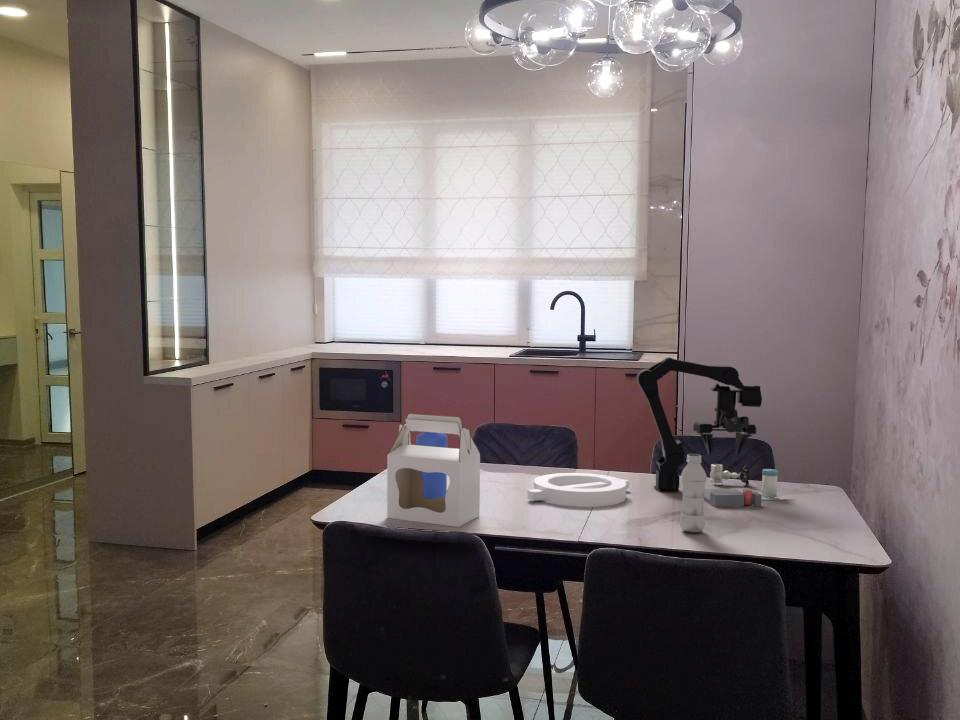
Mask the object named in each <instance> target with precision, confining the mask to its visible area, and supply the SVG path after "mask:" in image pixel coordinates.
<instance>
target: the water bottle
mask: <svg viewBox="0 0 960 720" xmlns="http://www.w3.org/2000/svg"><path fill="white" fill-rule="evenodd" d="M415 445H425V446H437V447H448V435H446V434H445V433H435V432H421V433H420V434H417V435H416V436H415ZM420 473H421V476H422V480H423V491H422V493H423V496H424V497H425V498H428V499H434V498H440V497H444V498H445V495H446V492H447V489H448V486H447V485H448V483H447V482H448V475H447V474H444V473H440V472H432V473H427V472H422V471H420Z"/></svg>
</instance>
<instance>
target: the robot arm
mask: <svg viewBox="0 0 960 720" xmlns="http://www.w3.org/2000/svg"><path fill="white" fill-rule="evenodd" d="M671 371H674V372H678V373H679V372H680V373H684V374H689V375H695V376H699V377H705V378H708V379H710V380H713V381H716V382H718V383H715V385H714V386H713V387H711V388H710V391H712V392H717V393H716V407H714V412H716V413H715V420H714V421H713V424H712V423H710V422H706V421H695V422H694V424H693V428H692V429H693V430H692V431H693V432H696V433H697V434H699V435H700V437H701V439H702V441H703V444H704V446H705V449H706V452H707V455H708V456H712V438H713V437H714V434H713V431H715V432H717V431H719V432H720V431H723V432H727V433H735V456H739V454H740V452H741V450H742V448H743V445H744V444H745V442H746V441H747V439H748V438H750V437H753V435H756V434H757V429H758V428H757V426H756V425H755V424H753V423H750V420H749V419H750V418H749V417H748V416H738V409H736V405H737V404H739V405H740V407H742V408H743V407H744V408H745V407H747V408H761V406H762V401H763V397H762V392H761V386H760V385H757V384H756V385H744V383H742V381H741V380H740V378H739V377H740V374H739V371H738V370H737V368H736V367H733V366H730V365H715V364H714V365H709V364H708V365H707V364H702V363H701V364H700V363H696V362H693V361H691V362H690V361H686V360H682V359H676V358H673V357H668V356H667V357H665V358H663V360H661V361H659V362H657V363H655V364H654V365H651V367H649V368H648V369H646V368H644V369H641V370H639V371H638V372H637V374H636V376H635V377H636V379H635V380H636V382H637V384H638V386H639V388H640V390H641V392H642V393H643V394H644V397H645V398H646V400H647V403H648V406H649V409H650V411H651V415H652V417H653V420H654V423H655V425H656V428H657V432H658V435H659V437H660V442H661V450H662V456H661V457H660V458H659V459H657V460H656V461H655V464H656V466H657V468H658V469H655V485H653V488H654V489H655V488H656V489H655V490H657V491H658V492H660V491H668V492H680V475H679V471H678V469H679V467H681V466H683V463H684V462H685V456H687V455H686V453H685V451H684V450H683V444H682V441H680V440H679V439H677V440H675V438H674V436H673V432H672V429H671V427H670V424H669V421H668V418H667V415H666V413H665V410H664V407H663V405H662V401H661V399H660V392H659V385H658V381H659V380H660V379H662V378H663V377H664V376H665V375H667V374H668V373H670V372H671ZM719 383H721V384H724V385H720V384H719ZM730 386H731V387H734V388H735V389H731V387H730Z"/></svg>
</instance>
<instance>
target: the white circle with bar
mask: <svg viewBox="0 0 960 720" xmlns="http://www.w3.org/2000/svg"><path fill="white" fill-rule="evenodd" d="M628 489H630V481H629V480H627V479H623V478H618V477H614V476H610V475H606V474H598V473H587V472H559V473H550V474H543V475H539V476H537V477H536V478H534V480H533V488H532V489H527V492H526V493H527V496H526V499H528V500H530V501H533V502H534V501H535V502H536V501H541V502H544V503H548V504H551V505H558V506H565V507H567V506H568V507H583V508H586V507H587V508H592V507H593V508H594V507H595V508H596V507H607V506H608V507H609V506H613V505H617V504H621V503H623V502H624V501H626V500H625V499H627V490H628Z"/></svg>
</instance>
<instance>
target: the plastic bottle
mask: <svg viewBox="0 0 960 720" xmlns="http://www.w3.org/2000/svg"><path fill="white" fill-rule="evenodd" d="M686 463H687V464H686V465H685V467H684V468H683V470H682V471H681V474H680V478H681V480H680V481H681V487H682V503H681V504H682V505H681V513H680V516H679V527H680V528H681V531H684V532H686V533H687V532H688V533H695V534H696V533H702V532H703V530H705V526H706V517H705V509H704V506H705V505H704V501H705V500H704V498H703V497H704V489H706V483H707V474H706V471H705V470H704V468H703V466H702V465H701V464H702V455H701V454H699V453H698V454H697V453H688V454H687V455H686Z"/></svg>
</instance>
